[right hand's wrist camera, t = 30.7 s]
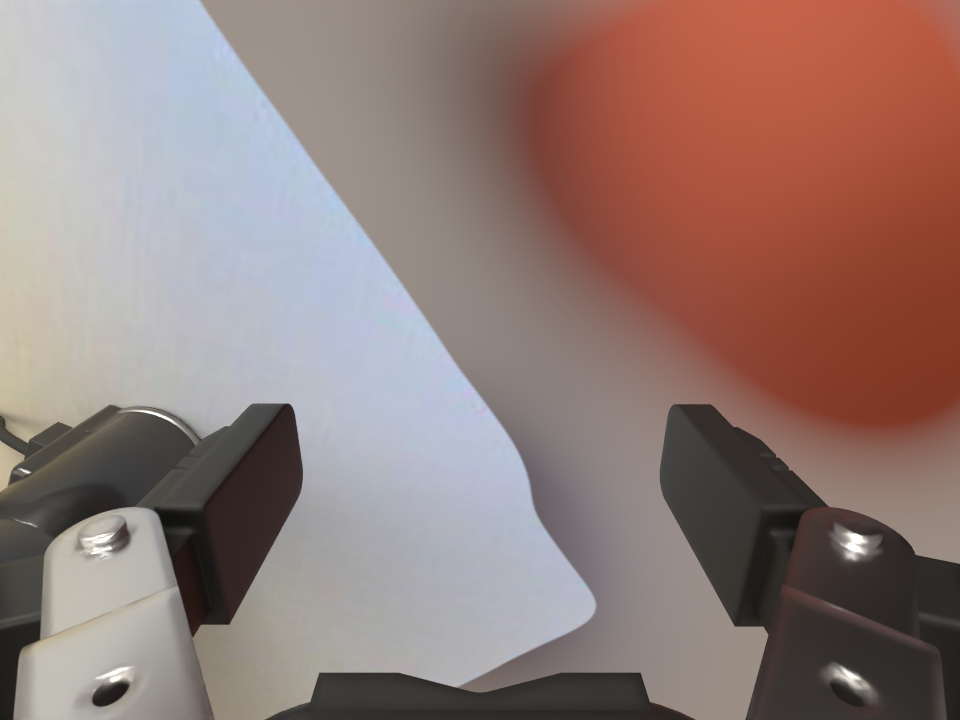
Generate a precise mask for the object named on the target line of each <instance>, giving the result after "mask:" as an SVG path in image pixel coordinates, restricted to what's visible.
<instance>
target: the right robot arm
mask: <svg viewBox="0 0 960 720" xmlns="http://www.w3.org/2000/svg"><path fill="white" fill-rule="evenodd" d="M0 441H2V442H3V443H5V444H6V445H8V446H10V447H11V448H13V449H15V450H17V451H18V452H20V453H22V454H24V455H25V458H24V461H22V462H21V463H19V464H18V465H16V466H15V467H14V468H13V470H12V472H11V475H10V479H9V482H8V486H7V488H5V489H4V490H2V491H1V492H0V720H214V716H213V713H212V709H211V705H210V702H209V698H208V694H207V691H206V687H205V683H204V680H203V676H202V672H201V669H200V665H199V661H198V658H197V654H196V650H195V646H194V643H193V639H192V638H193V637H194V635H195V634H196V632H197V630H198V629H199V627H200V625H229V624H230V622H231V620H232V618H233V617H234V615H235V613H236V611H237V609H238V607H239V606H240V604H241V602H242V600H243V598H244V596H245V595H246V593H247V591H248V589H249V587H250V585H251V584H252V582H253V580H254V578H255V576H256V574H257V573H258V571H259V569H260V567H261V565H262V563H263V562H264V560H265V558H266V556H267V554H268V552H269V551H270V549H271V547H272V545H273V543H274V541H275V540H276V538H277V536H278V534H279V532H280V530H281V529H282V527H283V525H284V523H285V521H286V519H287V517H288V516H289V514H290V512H291V510H292V508H293V506H294V505H295V503H296V501H297V499H298V497H299V495H300V491H301V487H302V480H303V468H302V460H301V453H300V446H299V439H298V432H297V426H296V419H295V413H294V410H293V408H292V406H291V405H290V404H251V405H250V406H249V407H248V408H247V409H246V410H245V411H244V412H243V413H242V414H241V415H240V416H239V417H238V418H237V420H236V421H235V422H234V423H233V424H232V425H231V426H225V427H223V428H222V429H220V430H218V431H216V432H214V433H213V434H211V435H209V436H207V437H205V438H204V439H202V440H201V441H200V439H199V438H198V436H197V435H196V434H195V432H194V431H193V430H192V429H191V428H190V427H189V426H188V425H186V424H185V423H184V422H183V421H181V420H180V419H178V418H177V417H175V416H173V415H171V414H169V413H167V412H164V411H162V410H159V409H155V408H150V407H129V408H125V409H120V408H117V407H115V406H112V405H108V406H107V407H105V408H104V409H102V410H101V411H99V412H98V413H96V414H94V415H93V416H91V417H90V418H88V419H87V420H85V421H84V422H82V423H81V424H79V425H78V426H76V427H74V428H72V427H69V426H67V425H65V424H62V423H60V422H57V423H56V424H54V425H53V426H51V427H49V428H48V429H46V430H44V431H43V432H41V433H40V434H38V435H36V436H35V437H33V438H31V439H30V440H29V443H26V442H25V441H23V440H21V439H19V438H18V437H16V436H14V435H13V434H11V433H10V432H9V431H8V430H7V429H6V428H5V419H4V418H3V417H1V416H0ZM660 484H661V489H662V493H663V496H664V499H665V501H666V502H667V504H668V506H669V508H670V509H671V511H672V513H673V515H674V517H675V519H676V520H677V522H678V524H679V526H680V528H681V530H682V531H683V533H684V535H685V537H686V539H687V540H688V542H689V544H690V546H691V548H692V549H693V551H694V553H695V555H696V557H697V559H698V560H699V562H700V564H701V566H702V568H703V569H704V571H705V573H706V575H707V577H708V579H709V580H710V582H711V584H712V586H713V588H714V589H715V591H716V593H717V595H718V597H719V598H720V600H721V602H722V604H723V606H724V608H725V609H726V611H727V613H728V615H729V617H730V618H731V620H732V622H733V624H734V626H764V628H765V630H766V631H767V633H768V639H767V643H766V647H765V650H764V654H763V658H762V661H761V665H760V669H759V672H758V676H757V680H756V683H755V687H754V691H753V694H752V698H751V702H750V705H749V709H748V713H747V716H746V720H960V564H957V563H952V562H947V561H942V560H937V559H933V558H928V557H922V556H918V555H915V552H914V550H913V548H912V546H911V545H910V544H909V543H908V542H907V541H906V540H905V539H904V538H903V537H902V536H901V535H900V534H898V533H897V532H896V531H894V530H893V529H891V528H890V527H888V526H887V525H885V524H883V523H881V522H879V521H877V520H875V519H873V518H870V517H868V516H866V515H863V514H860V513H857V512H853V511H850V510H845V509H840V508H832V507H829V506H828V505H827V504H825V502H823V501H822V500H821V499H820V498H819V497H818V496H817V495H816V494H815V493H814V492H813V491H812V490H811V489H810V488H809V487H808V486H807V485H806V484H805V483H804V482H803V481H802V480H801V479H800V478H799V477H798V476H797V475H796V474H795V473H794V472H793V471H789V467H788V466H787V465H786V464H785V463H784V462H783V461H782V460H781V459H780V458H776V454H775V453H774V452H773V451H772V450H770V448H769V447H768V446H766V445H765V444H764V443H763V442H762V441H761V440H760V439H758V438H756V437H755V436H753V435H751V434H749V433H747V432H746V431H744V430H742V429H740V428H738V427H733V426H732V425H731V424H730V423H729V422H728V421H727V420H726V419H725V418H724V417H723V416H722V415H721V414H720V413H719V412H718V411H717V410H716V409H715V408H714V407H713V406H712V405H710V404H674V405H673V406H672V407H671V408H670V410H669V413H668V418H667V425H666V432H665V439H664V446H663V452H662V459H661V466H660ZM265 720H695V719H693V718H691V717H689V716H687V715H685V714H683V713H680V712H678V711H675V710H673V709H670V708H667V707H664V706H662V705H659V704H655V703H651V702H649V698H648V695H647V692H646V689H645V686H644V682H643V679H642V676H641V673H559V674H555V675H551V676H547V677H544V678H540V679H536V680H532V681H528V682H524V683H520V684H517V685H513V686H509V687H505V688H501V689H497V690H493V691H489V692H484V693H476V692H471V691H467V690H463V689H459V688H455V687H451V686H447V685H444V684H440V683H436V682H432V681H428V680H424V679H420V678H417V677H413V676H409V675H405V674H401V673H319V676H318V679H317V682H316V686H315V689H314V692H313V695H312V698H311V701H310V702H309V703H305V704H301V705H298V706H296V707H293V708H290V709H287V710H285V711H282V712H279V713H277V714H275V715H273V716H271V717H269V718H267V719H265Z"/></svg>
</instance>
